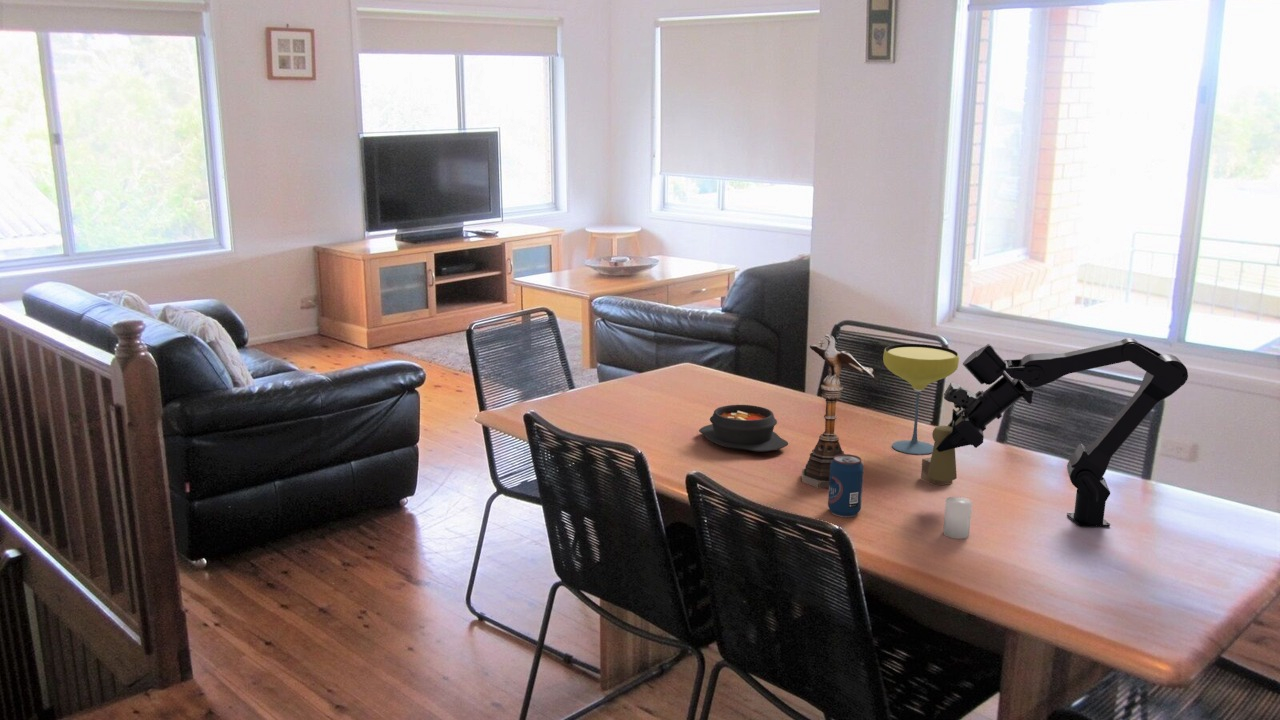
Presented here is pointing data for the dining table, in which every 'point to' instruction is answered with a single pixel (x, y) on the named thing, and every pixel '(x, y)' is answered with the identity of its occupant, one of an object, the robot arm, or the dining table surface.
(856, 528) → the dining table surface
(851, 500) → the soda can
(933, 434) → the cork
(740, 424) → the casserole
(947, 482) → the walnut block
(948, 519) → the off-white cylinder
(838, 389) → the bird statue
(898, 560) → the dining table surface
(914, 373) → the cocktail glass
